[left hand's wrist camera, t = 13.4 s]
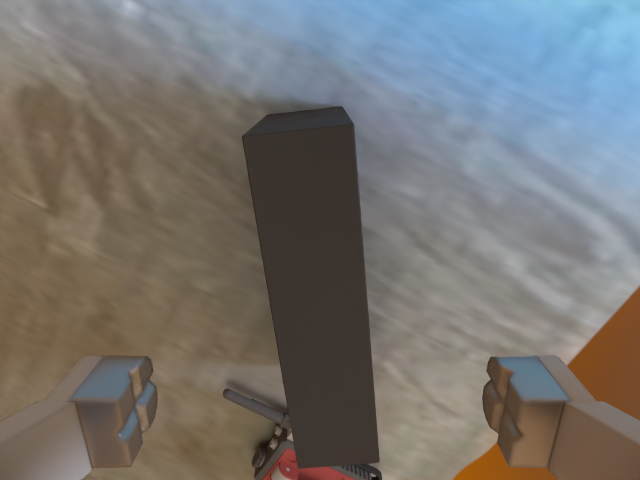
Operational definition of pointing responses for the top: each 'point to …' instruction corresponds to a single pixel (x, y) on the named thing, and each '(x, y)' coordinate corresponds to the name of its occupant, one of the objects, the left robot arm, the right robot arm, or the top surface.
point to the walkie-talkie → (292, 452)
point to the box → (316, 280)
